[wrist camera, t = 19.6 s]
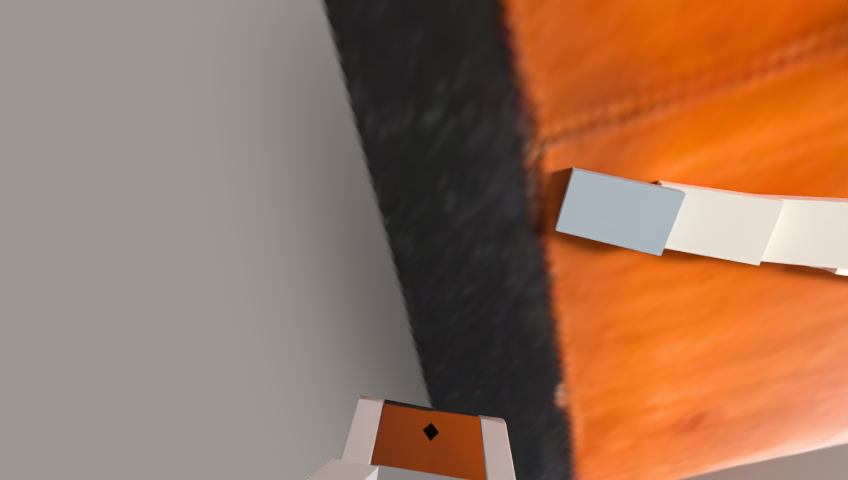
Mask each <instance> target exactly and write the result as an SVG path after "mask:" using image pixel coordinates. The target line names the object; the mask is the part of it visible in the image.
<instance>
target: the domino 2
mask: <svg viewBox="0 0 848 480" xmlns="http://www.w3.org/2000/svg"><path fill="white" fill-rule="evenodd" d="M657 185H660V186H665V187H670V188H674V189H679V190H681V191H683V192H684V193H686V195H685V197H684V200H683V202H682V205H681V207H680V210H679V212H678V215H677V217H676V220H675V222H674V225H673V227H672V230H671V232H670V235H669V237H668V240H667V242H666V245H665V247H664V248H666V249H672V250H677V251H682V252H688V253H693V254H699V255H704V256H710V257H715V258H721V259H726V260H732V261H737V262H742V263H748V264H753V265H760V262H761V260H762V257H763V255H764V252H765V250H766V247H767V245H768V242H769V240H770V237H771V235H772V232H773V230H774V227H775V225H776V223H777V220H778V218H779V215H780V213H781V210H782V208H783V205H784V203H785V201H783V200H780V199H778V198H776V197H770V196H763V195H756V194H749V193H742V192H735V191H728V190H721V189H714V188H707V187H700V186H693V185H686V184H679V183H672V182H665V181H658V183H657Z"/></svg>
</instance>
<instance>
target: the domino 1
mask: <svg viewBox="0 0 848 480" xmlns="http://www.w3.org/2000/svg"><path fill="white" fill-rule="evenodd" d="M685 195H686V193H684V192H683V191H681V190H679V189H674V188H670V187H665V186H660V185H655V184H650V183H646V182H641V181H636V180H631V179H627V178H622V177H617V176H612V175H607V174H603V173H598V172H593V171H588V170H584V169H579V168H574V167H573V168H572V171H571V174H570V178H569V181H568V184H567V188H566V191H565V195H564V198H563V201H562V205H561V208H560V211H559V215H558V218H557V221H556V225H555V229H556V231H559V232H563V233H568V234H572V235H576V236H580V237H584V238H588V239H592V240H596V241H601V242H605V243H609V244H613V245H617V246H621V247H625V248H629V249H634V250H638V251H642V252H646V253H650V254H654V255H658V256H661V255H662V252H663V250H664V247H665V245H666V242H667V240H668V237H669V235H670V232H671V230H672V227H673V225H674V222H675V220H676V217H677V215H678V212H679V210H680V207H681V205H682V202H683V200H684V197H685Z"/></svg>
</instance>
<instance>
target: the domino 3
mask: <svg viewBox="0 0 848 480" xmlns="http://www.w3.org/2000/svg"><path fill="white" fill-rule="evenodd" d="M756 195H763V196H770V197H776V198H778V199H780V200H783V201H785V203H784V205H783V208H782V210H781V213H780V215H779V218H778V220H777V223H776V225H775V227H774V230H773V232H772V235H771V237H770V240H769V242H768V245H767V247H766V250H765V252H764V255H763V257H762V260H761V261H764V262H774V263H785V264H796V265H806V266H817V267H827V268H838V269H848V198H827V197H806V196H785V195H764V194H756Z"/></svg>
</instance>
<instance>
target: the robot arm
mask: <svg viewBox="0 0 848 480" xmlns="http://www.w3.org/2000/svg"><path fill="white" fill-rule="evenodd" d="M306 480H516V479H515V473H514V468H513V462H512V456H511V451H510V445H509V439H508V434H507V428H506V423H505V421H504V420H503V419H501V418H494V417H487V416H481V415H479V416H477V415H471V414H465V413H458V412H452V411H446V410H439V409H433V408H428V407H422V406H417V405H411V404H407V403H401V402H396V401H390V400H385V401H384V400H383V399H378V398H373V397H367V396H362V395H360V397H359V399H358V401H357V404H356V407H355V411H354V414H353V417H352V420H351V424H350V427H349V430H348V434H347V437H346V440H345V444H344V447H343V450H342V454H341V457H340V460H337V459H331V460H330V461H328V462H327V463H326V464H325V465H323V466H322V467H321V468H320V469H318V470H317V471H316V472H315V473H313V474H312V475H311V476H310V477H308V478H307V479H306Z"/></svg>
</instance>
